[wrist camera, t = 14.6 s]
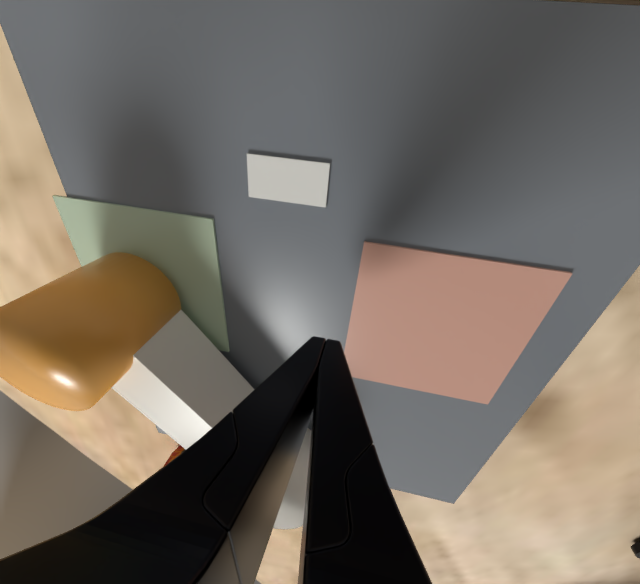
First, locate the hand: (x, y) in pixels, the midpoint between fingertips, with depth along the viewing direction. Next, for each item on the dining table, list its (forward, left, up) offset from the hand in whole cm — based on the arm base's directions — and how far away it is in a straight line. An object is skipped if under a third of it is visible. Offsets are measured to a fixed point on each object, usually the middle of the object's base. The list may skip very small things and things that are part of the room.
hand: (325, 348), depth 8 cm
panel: (+1, +2, -4) cm, 4 cm away
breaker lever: (+5, +5, -2) cm, 7 cm away
